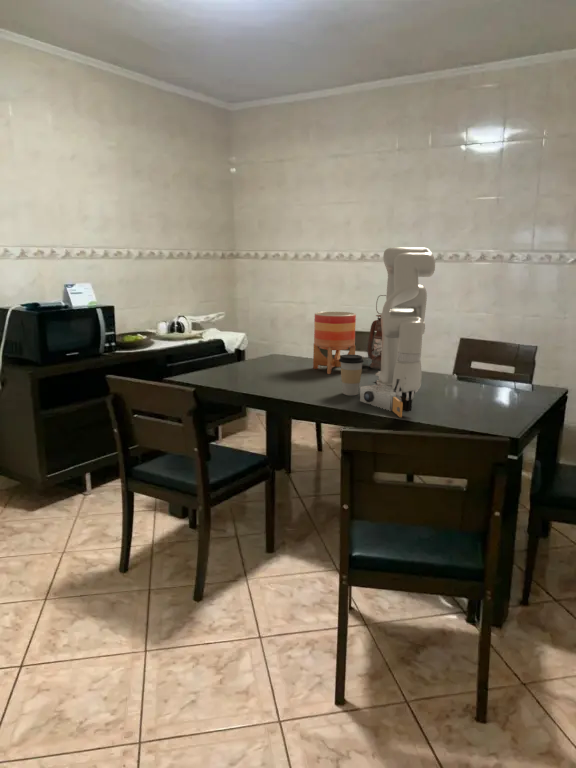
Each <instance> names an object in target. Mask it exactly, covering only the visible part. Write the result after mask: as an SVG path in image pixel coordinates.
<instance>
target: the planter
mask: <svg viewBox="0 0 576 768" xmlns="http://www.w3.org/2000/svg"><path fill="white" fill-rule="evenodd" d="M356 320H357V314H356V313H355V312H350V311H319V312H315V313H314V322H313V323H314V327H313V329H314V330H313V331H314V333H313V362H312V363H313V365H312V366H313V367H312V369H313V370H318V369H319V366H325V367H327V370H326V372H327V374H328V375H331V374H332V369H333V368H335V367H336V368H341V362H340V361H339V360H340V358H341V351H345V350H349V351H348V353H347V354H346V355H349V354H351V355H356V345H355V343H356V326H357V325H356ZM321 349H322V350H326V351H327V356H325V354H323V353H322V351H321ZM333 351H335V353H334V357H333Z"/></svg>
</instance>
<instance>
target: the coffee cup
mask: <svg viewBox="0 0 576 768" xmlns="http://www.w3.org/2000/svg"><path fill="white" fill-rule="evenodd" d="M339 361H340V362H341V367H340V376H341V377H340V379H341V384H342V385H341V386H342V387H341V388H342V394H343V395H346V396H357V395H359V392H360V390H359V389H360V383H361V377H362V372H363V371H362V370H363V363H364V359H363V356H362V355H360V354H355V355H351V354H349V355H347V354H341V355H340V360H339Z"/></svg>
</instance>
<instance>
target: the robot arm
mask: <svg viewBox="0 0 576 768" xmlns="http://www.w3.org/2000/svg"><path fill="white" fill-rule="evenodd" d="M382 258H383V263H384V266H385V269H386V272H387V280H386V281H387V282H386V283H387V284H386V294H385V295H386V296H385V299H386V300H385V302H384V305H383V306H382V312H381V314H382V315H381V314H380V315H381V317H380V318H381V327H382V339H381V341H382V355H381V369H380V371H379V370H378V371H377V372H376V373H375V376H376V377H378V379H377V380H376V384H383V385H387V386H390V387H392V388H393V390H396V395H397V396H400V398H401V402H402V403H403V407H402V412H403V411H404V412H406V413H407V412H412V406H413V405H412V404H413V399H414V397H415V394H416V393H417V392H419V389H420V388H421V385H422V377H423V376H422V372H423V371H422V361H421V360H422V348H423V347H422V345H423V335H424V334H425V332H426V331H425V329H426V322H425V317H426V310H427V299H428V298H427V297H428V295H427V294H428V293H427V289H426V287H425V286H423V285H422V284H420V283H419V278H429V277H432V276H433V275H434V273H435V271H436V260H435V255H434V254H433V252H432V251H431V250H430V249H429V248H427V247H409V246H408V247H402V246H401V247H400V246H397V247H396V246H394V247H388V248H386V249H385V250H384V251H383V257H382Z"/></svg>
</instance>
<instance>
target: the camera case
mask: <svg viewBox="0 0 576 768" xmlns="http://www.w3.org/2000/svg"><path fill="white" fill-rule="evenodd" d="M359 389H360V390H359V402H361V403H364V404H367V405H370V404H371V405H370V406H374V407H376V406H377V407H376V408H379V407H380V409H382V408H383V409H382V410H385V409H386V411H388V410H389V411H388V412H391V411H392V396H395V397H396V398H397V399H399V400H400V401H401V398H400V396H397V395H396V390H393V388H392V387H390V386H387V385H383V384H377V383H376V384H369V385H363V386H359ZM392 412H393V411H392Z"/></svg>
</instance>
